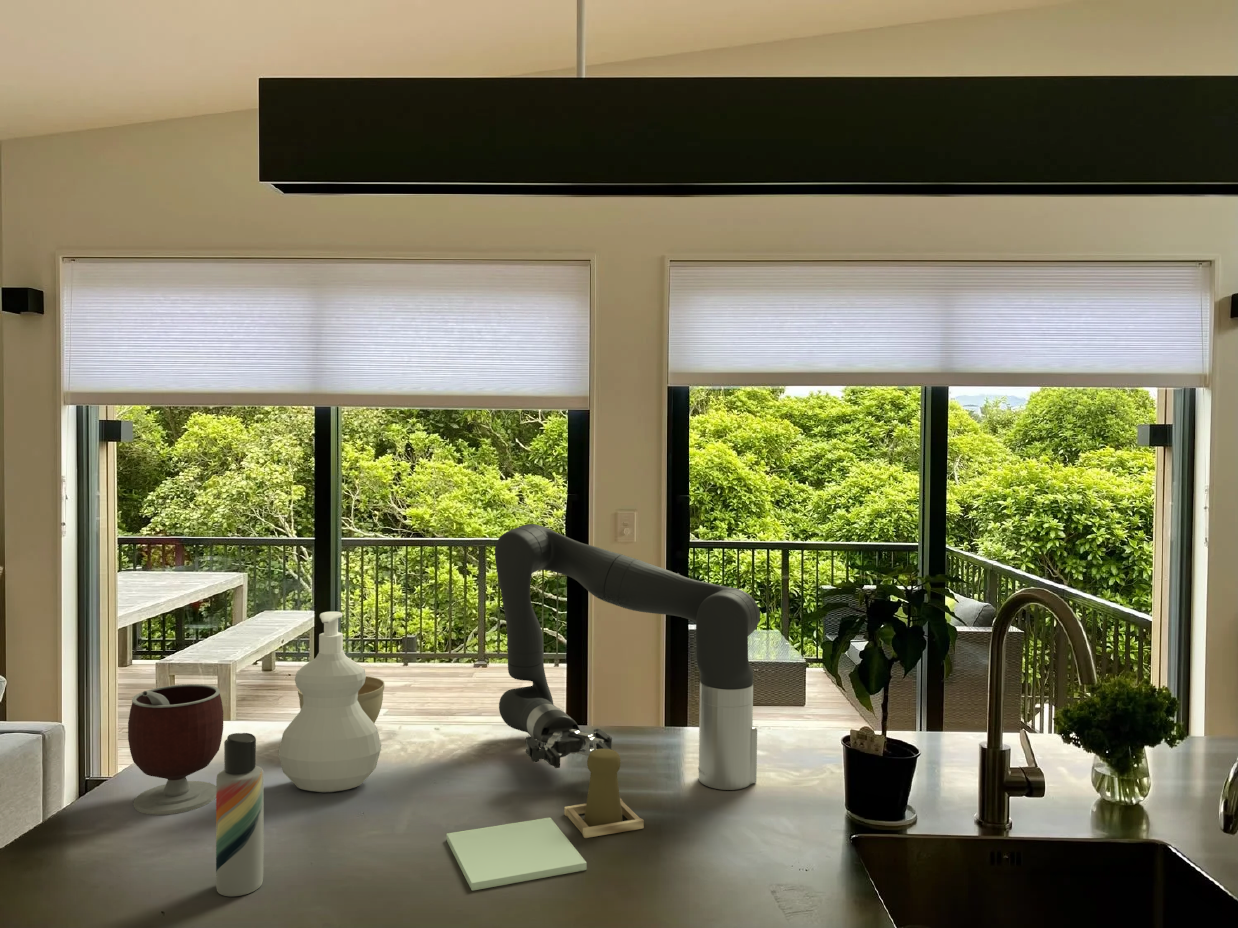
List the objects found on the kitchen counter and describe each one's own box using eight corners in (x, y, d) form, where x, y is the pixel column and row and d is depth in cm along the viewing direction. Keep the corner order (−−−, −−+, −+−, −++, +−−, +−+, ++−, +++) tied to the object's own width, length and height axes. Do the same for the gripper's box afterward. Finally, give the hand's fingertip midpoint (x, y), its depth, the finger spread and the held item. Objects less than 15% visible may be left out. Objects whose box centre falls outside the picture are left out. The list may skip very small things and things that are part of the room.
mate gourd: (161, 781, 154) (161, 664, 153) (239, 784, 153) (239, 667, 152) (101, 818, 138) (101, 689, 138) (188, 823, 137) (188, 692, 137)
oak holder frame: (620, 805, 146) (620, 798, 146) (643, 828, 137) (643, 820, 137) (564, 814, 142) (564, 806, 142) (584, 837, 134) (584, 829, 134)
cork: (618, 831, 136) (619, 759, 136) (579, 827, 137) (580, 755, 137) (626, 815, 142) (626, 746, 142) (588, 811, 143) (589, 743, 143)
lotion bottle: (225, 876, 121) (225, 728, 120) (268, 875, 121) (269, 727, 121) (209, 898, 115) (209, 742, 114) (255, 896, 115) (255, 741, 115)
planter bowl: (357, 722, 187) (357, 670, 187) (400, 741, 176) (400, 685, 176) (282, 740, 176) (283, 684, 175) (323, 761, 164) (323, 702, 164)
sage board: (550, 823, 139) (550, 817, 139) (586, 869, 124) (586, 862, 124) (446, 840, 132) (446, 833, 132) (471, 890, 118) (471, 882, 118)
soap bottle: (268, 799, 147) (268, 619, 146) (290, 773, 158) (290, 606, 158) (373, 798, 148) (374, 619, 147) (387, 772, 159) (388, 606, 158)
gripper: (514, 713, 160) (541, 741, 145) (589, 705, 166) (623, 731, 151) (514, 754, 161) (541, 787, 146) (588, 745, 166) (622, 775, 151)
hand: (583, 758), depth 148 cm, fingers open, 8 cm apart
